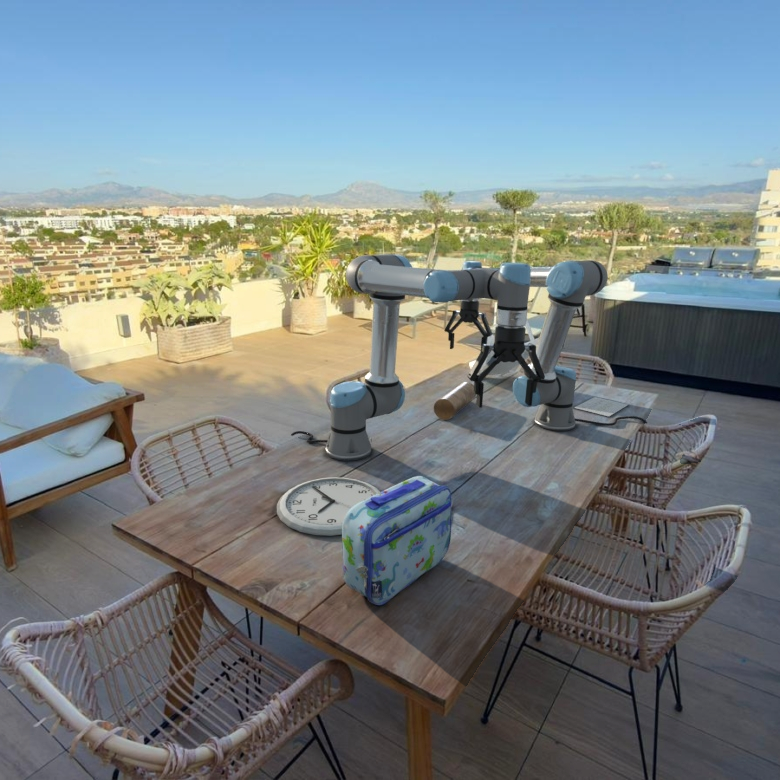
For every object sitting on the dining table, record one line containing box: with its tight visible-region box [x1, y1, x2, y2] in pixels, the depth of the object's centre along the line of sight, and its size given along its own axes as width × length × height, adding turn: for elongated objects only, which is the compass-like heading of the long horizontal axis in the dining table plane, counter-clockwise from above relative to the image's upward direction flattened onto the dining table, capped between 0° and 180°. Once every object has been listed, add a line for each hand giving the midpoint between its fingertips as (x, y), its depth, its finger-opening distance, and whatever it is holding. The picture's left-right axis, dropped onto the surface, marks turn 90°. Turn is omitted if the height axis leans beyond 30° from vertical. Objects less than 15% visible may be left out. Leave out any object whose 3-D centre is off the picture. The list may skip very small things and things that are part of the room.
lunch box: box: [341, 475, 453, 606], centre depth 111 cm, size 26×11×21 cm, turn 134°
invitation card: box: [573, 396, 629, 418], centre depth 226 cm, size 21×1×15 cm
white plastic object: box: [468, 318, 539, 376], centre depth 259 cm, size 37×45×31 cm
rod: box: [433, 381, 477, 421], centre depth 218 cm, size 27×9×9 cm, turn 153°
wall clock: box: [276, 476, 382, 537], centre depth 142 cm, size 30×2×30 cm
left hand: (503, 405), depth 139 cm, fingers open, 13 cm apart
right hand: (466, 350), depth 221 cm, fingers open, 13 cm apart
